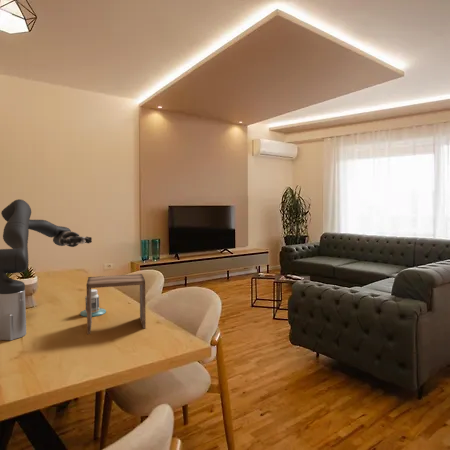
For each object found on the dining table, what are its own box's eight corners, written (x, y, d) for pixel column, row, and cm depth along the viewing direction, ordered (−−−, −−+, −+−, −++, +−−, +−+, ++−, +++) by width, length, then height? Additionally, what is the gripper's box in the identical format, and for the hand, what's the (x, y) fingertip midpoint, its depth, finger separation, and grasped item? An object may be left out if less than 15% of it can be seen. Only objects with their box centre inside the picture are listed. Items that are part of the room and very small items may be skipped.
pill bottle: (91, 309, 165) (91, 288, 165) (101, 310, 163) (101, 289, 163) (83, 312, 160) (82, 291, 159) (93, 314, 158) (92, 292, 158)
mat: (99, 317, 156) (99, 316, 156) (75, 316, 157) (75, 315, 157) (110, 309, 167) (110, 308, 167) (88, 308, 168) (87, 307, 168)
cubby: (145, 328, 143) (145, 280, 142) (87, 334, 136) (86, 284, 135) (142, 317, 156) (142, 274, 155) (89, 322, 149) (88, 277, 148)
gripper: (55, 232, 176) (63, 234, 163) (84, 230, 184) (94, 233, 172) (55, 247, 176) (63, 250, 163) (84, 245, 185) (95, 248, 172)
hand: (79, 241), depth 167 cm, fingers open, 8 cm apart
